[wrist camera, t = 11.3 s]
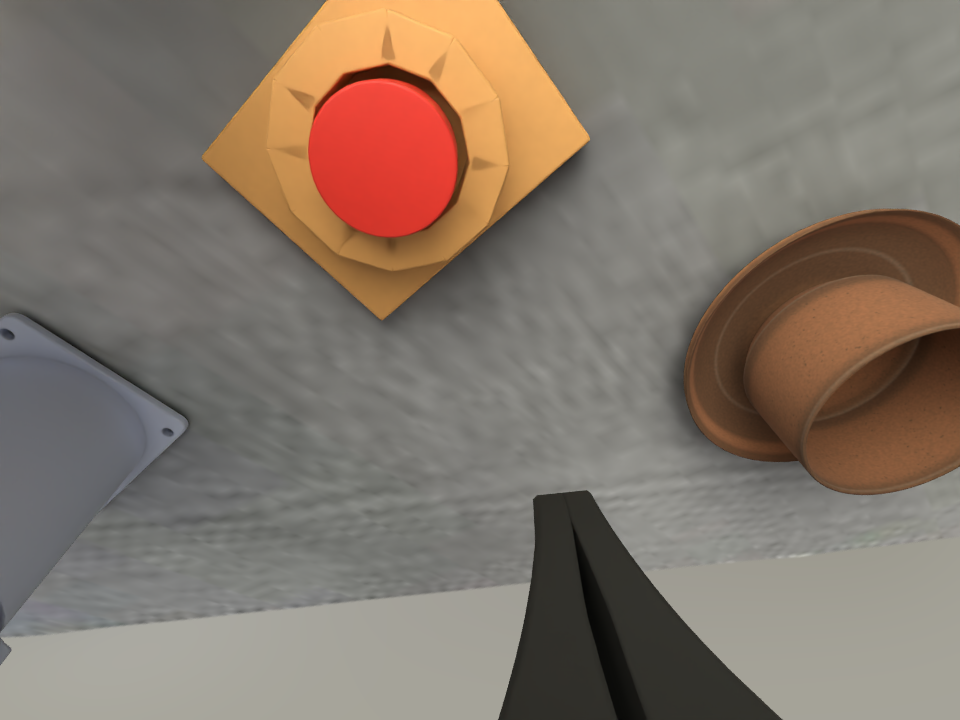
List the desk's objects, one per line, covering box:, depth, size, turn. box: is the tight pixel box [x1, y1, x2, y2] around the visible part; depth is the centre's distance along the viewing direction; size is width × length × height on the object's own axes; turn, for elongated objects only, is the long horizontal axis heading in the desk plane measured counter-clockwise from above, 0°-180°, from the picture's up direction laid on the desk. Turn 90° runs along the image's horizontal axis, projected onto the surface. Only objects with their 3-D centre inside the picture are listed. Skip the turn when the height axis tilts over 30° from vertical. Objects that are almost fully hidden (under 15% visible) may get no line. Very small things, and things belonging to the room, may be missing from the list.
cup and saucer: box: [684, 209, 960, 495], centre depth 19 cm, size 12×12×6 cm
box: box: [202, 0, 590, 320], centre depth 15 cm, size 10×8×3 cm
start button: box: [308, 78, 458, 238], centre depth 13 cm, size 4×4×2 cm
